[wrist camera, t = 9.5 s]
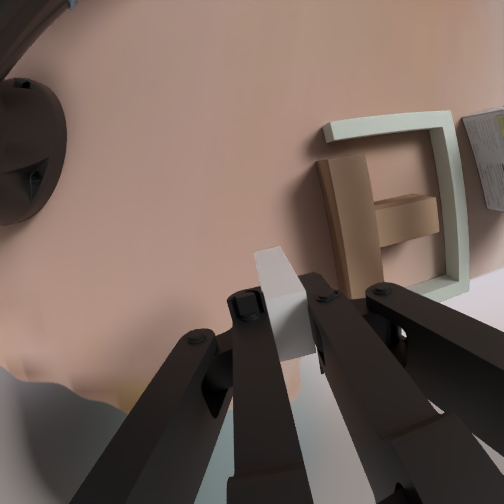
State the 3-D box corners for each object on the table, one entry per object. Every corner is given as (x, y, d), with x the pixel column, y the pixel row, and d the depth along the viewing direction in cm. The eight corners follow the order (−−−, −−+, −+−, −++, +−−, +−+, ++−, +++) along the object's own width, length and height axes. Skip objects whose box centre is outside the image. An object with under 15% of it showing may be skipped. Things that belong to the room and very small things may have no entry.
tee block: (339, 291, 29) (352, 308, 25) (315, 161, 26) (327, 159, 22) (421, 268, 28) (441, 280, 24) (405, 146, 26) (427, 144, 22)
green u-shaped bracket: (355, 316, 29) (364, 327, 27) (322, 126, 25) (330, 121, 23) (456, 283, 29) (469, 290, 27) (436, 113, 25) (450, 110, 22)
